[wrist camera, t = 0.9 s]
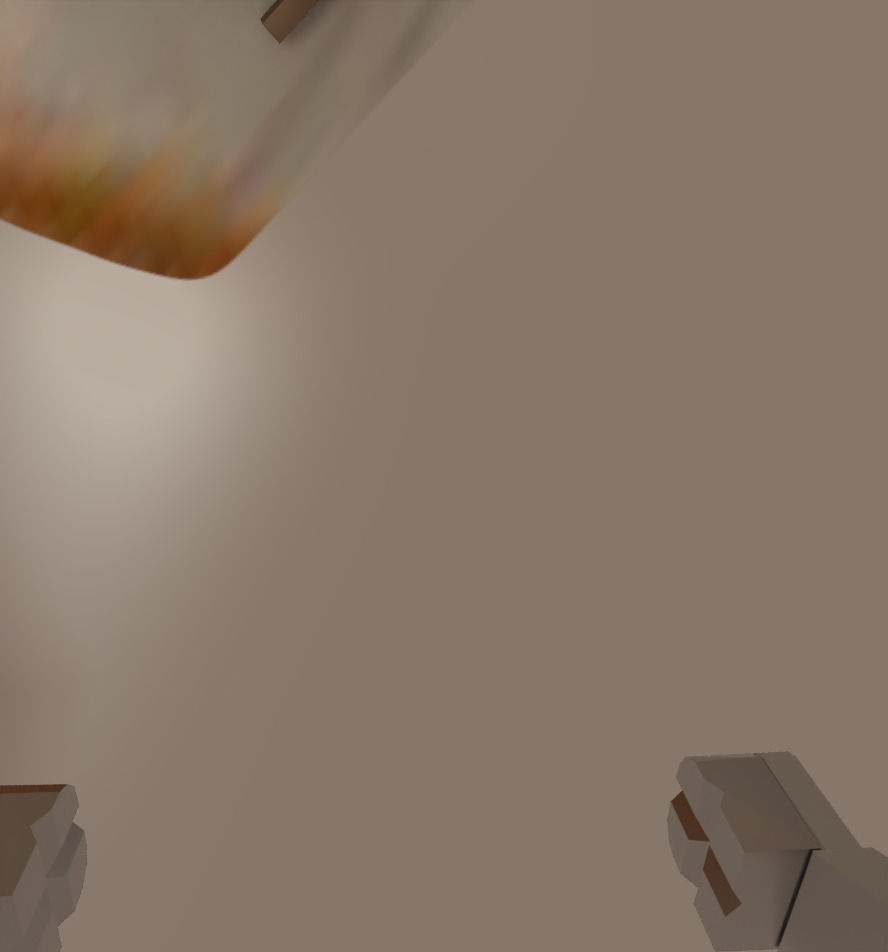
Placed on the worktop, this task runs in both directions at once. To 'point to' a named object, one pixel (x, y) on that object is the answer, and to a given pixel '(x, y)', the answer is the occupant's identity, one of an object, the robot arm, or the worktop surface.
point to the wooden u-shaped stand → (286, 16)
